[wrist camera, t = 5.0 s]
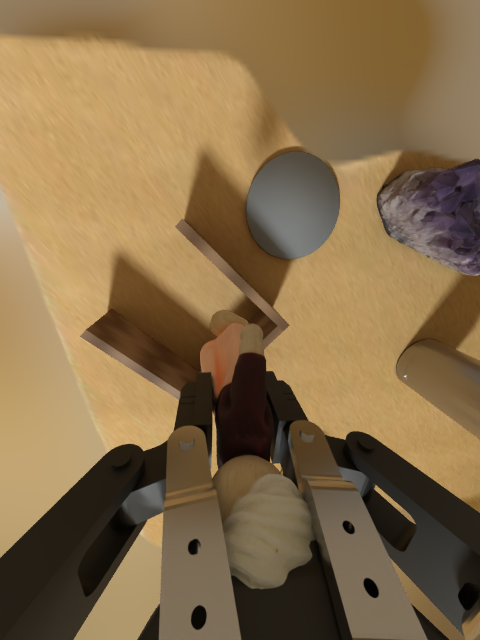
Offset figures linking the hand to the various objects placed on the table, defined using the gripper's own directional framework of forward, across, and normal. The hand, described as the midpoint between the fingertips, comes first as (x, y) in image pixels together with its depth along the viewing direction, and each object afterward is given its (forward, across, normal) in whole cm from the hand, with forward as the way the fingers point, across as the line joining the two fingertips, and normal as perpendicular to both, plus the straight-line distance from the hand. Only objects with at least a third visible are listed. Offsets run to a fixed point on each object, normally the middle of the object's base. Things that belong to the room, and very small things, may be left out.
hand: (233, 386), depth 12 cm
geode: (+21, -30, -11) cm, 38 cm away
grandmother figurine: (+5, 0, 0) cm, 5 cm away
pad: (+21, -9, -11) cm, 25 cm away
